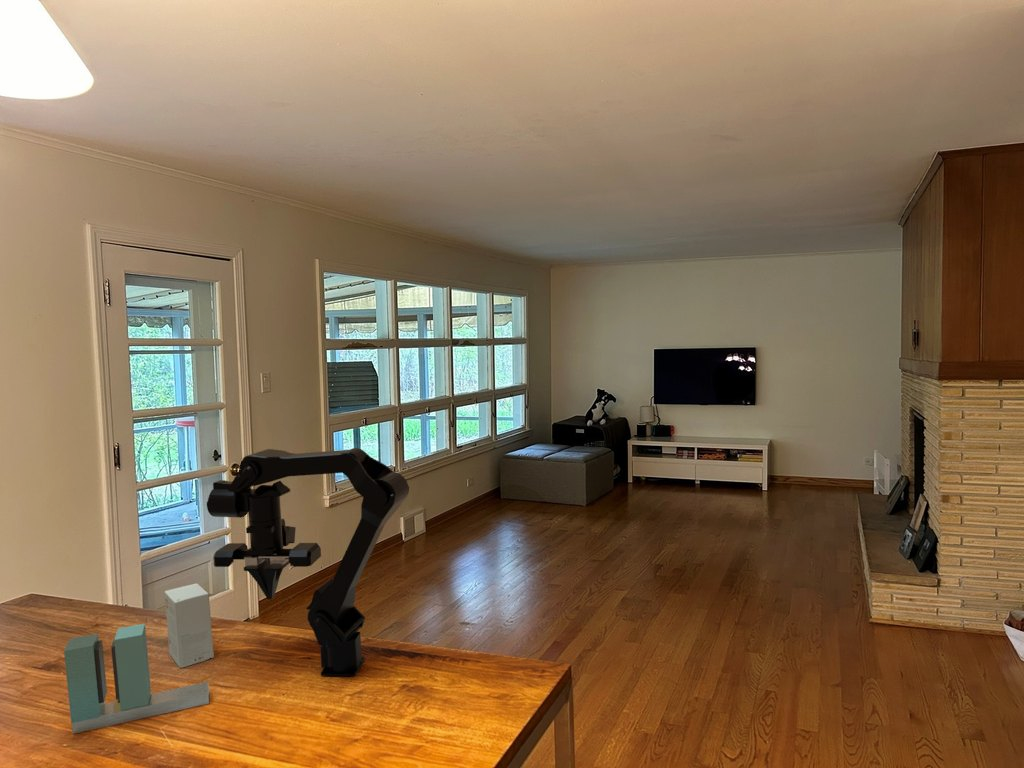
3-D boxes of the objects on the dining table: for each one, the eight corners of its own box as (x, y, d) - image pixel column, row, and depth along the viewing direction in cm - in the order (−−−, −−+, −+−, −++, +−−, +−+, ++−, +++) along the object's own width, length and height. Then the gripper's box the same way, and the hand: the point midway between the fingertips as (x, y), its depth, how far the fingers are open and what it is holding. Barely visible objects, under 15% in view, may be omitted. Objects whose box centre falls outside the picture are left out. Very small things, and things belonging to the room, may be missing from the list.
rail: (209, 691, 124) (203, 614, 122) (208, 704, 119) (202, 625, 118) (78, 719, 116) (70, 638, 115) (72, 735, 112) (64, 650, 110)
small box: (214, 658, 136) (209, 593, 135) (179, 669, 132) (174, 602, 131) (202, 644, 142) (197, 582, 141) (168, 654, 138) (163, 590, 137)
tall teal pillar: (151, 690, 120) (144, 623, 119) (148, 704, 116) (142, 634, 114) (120, 697, 118) (114, 629, 117) (116, 711, 114) (109, 640, 113)
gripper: (328, 505, 138) (333, 582, 139) (238, 506, 140) (243, 582, 141) (306, 522, 127) (312, 605, 128) (208, 523, 129) (215, 605, 130)
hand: (270, 598), depth 132 cm, fingers closed
